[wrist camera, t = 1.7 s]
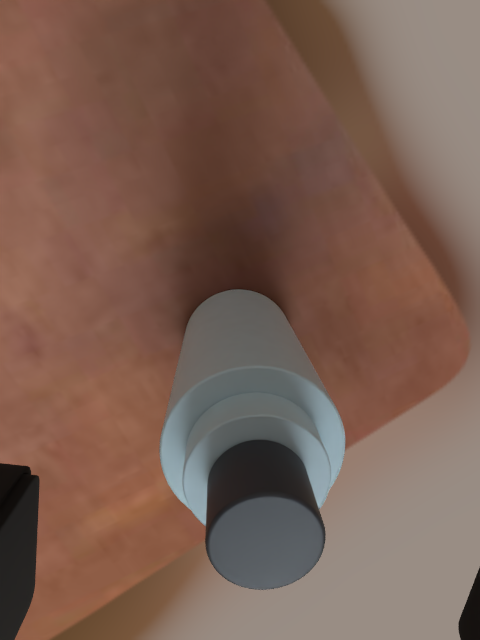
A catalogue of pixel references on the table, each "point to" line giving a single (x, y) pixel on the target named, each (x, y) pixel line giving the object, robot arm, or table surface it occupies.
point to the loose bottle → (251, 440)
